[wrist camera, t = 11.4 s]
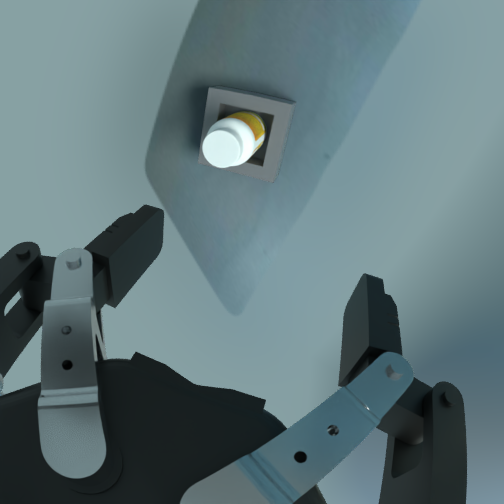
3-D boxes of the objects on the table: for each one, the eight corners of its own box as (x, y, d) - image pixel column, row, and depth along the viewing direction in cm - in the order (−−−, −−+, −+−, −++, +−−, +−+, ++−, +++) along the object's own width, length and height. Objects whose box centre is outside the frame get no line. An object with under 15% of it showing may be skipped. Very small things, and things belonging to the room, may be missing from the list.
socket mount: (219, 85, 36) (208, 87, 33) (295, 102, 35) (292, 104, 32) (207, 155, 42) (197, 163, 39) (278, 174, 41) (273, 183, 38)
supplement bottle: (228, 107, 36) (197, 119, 29) (270, 113, 36) (250, 127, 28) (224, 146, 40) (193, 169, 32) (264, 154, 39) (243, 179, 31)
